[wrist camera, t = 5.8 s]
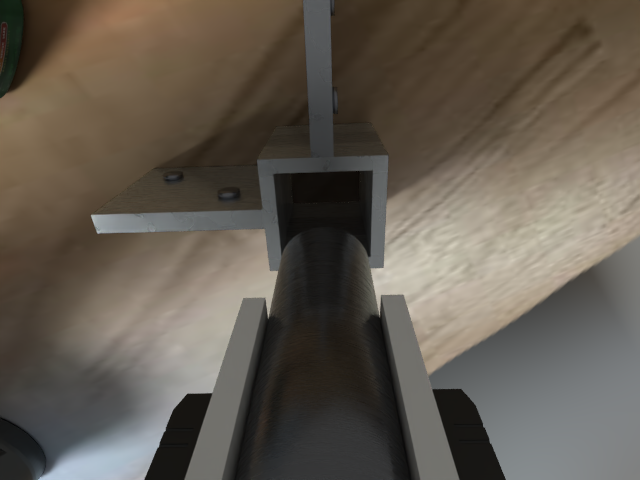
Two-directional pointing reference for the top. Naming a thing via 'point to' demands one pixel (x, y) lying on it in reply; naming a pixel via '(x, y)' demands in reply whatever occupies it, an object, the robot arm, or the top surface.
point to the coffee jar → (10, 41)
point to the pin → (323, 372)
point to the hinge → (272, 174)
